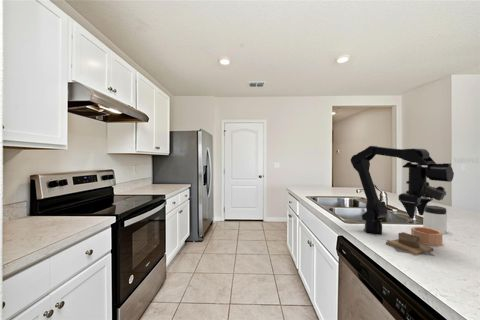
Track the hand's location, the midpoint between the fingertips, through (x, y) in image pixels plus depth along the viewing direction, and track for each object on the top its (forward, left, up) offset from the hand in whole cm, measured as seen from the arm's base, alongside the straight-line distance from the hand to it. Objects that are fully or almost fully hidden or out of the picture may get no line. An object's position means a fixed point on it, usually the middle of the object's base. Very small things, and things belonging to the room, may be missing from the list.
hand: (416, 216), depth 88 cm
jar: (+17, +25, -13) cm, 33 cm away
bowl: (+6, +7, -12) cm, 15 cm away
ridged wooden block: (-4, -3, -12) cm, 13 cm away
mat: (-4, -3, -12) cm, 13 cm away
